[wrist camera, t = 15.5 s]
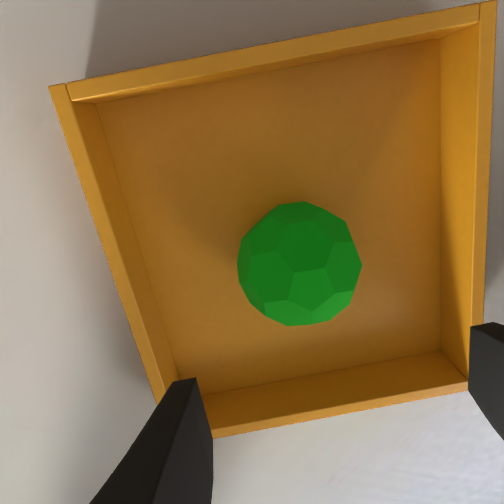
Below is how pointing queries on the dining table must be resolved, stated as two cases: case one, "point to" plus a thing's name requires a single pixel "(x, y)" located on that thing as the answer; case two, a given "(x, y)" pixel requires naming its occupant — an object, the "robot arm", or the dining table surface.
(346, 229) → the polyhedron
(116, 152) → the tray
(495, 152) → the dining table surface
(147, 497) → the robot arm
